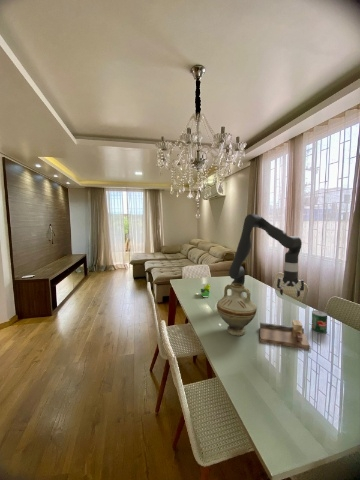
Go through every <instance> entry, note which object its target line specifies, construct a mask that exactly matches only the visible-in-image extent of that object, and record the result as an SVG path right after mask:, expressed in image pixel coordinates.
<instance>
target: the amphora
mask: <svg viewBox="0 0 360 480" xmlns="http://www.w3.org/2000/svg"><path fill="white" fill-rule="evenodd" d="M229 290H230V291H231V290H232V291H233V294H232V295H231V294H230V295H228V291H229ZM223 292H224V293H223V297H221V299H219V300H218V301H217V302H216V310H217V312H218V314H219V316H220V318H221V319H222V320H223V322H225V323H226V324H227V325H228V326H227V329H226V332H227V333H228V332H229V334H230V335H232V336H235V335H237V337H240V335H241V336H243V335H245V334H246V328H245V327H246V326H247V325H249V324H250V323H251V322H252V320H254V318H255V316H256V314H257V309H258V307H257V305H256V303H254V302H253V301H252V300H251V291H250V289H249V288H247V287H246V286H245V284H244V285H242V284H237V283H233V284H231V283H230V284H227V285H226V286H225V287H224V291H223ZM242 292H243V293H246V296H242V295H241V293H242Z"/></svg>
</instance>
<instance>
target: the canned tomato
mask: <svg viewBox="0 0 360 480" xmlns="http://www.w3.org/2000/svg"><path fill="white" fill-rule="evenodd" d="M311 330H312V331H313V332H314V333H316V332H317V333H316V334H320V333H321V334H322V335H323V334H327V332H328V313H327V312H325V311H323V310H312V311H311ZM321 334H320V335H321Z"/></svg>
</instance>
